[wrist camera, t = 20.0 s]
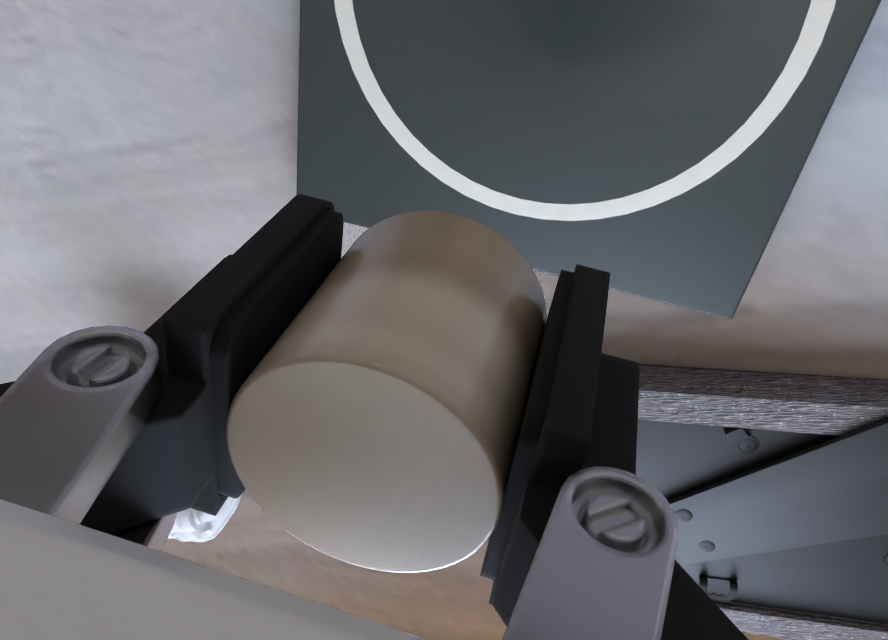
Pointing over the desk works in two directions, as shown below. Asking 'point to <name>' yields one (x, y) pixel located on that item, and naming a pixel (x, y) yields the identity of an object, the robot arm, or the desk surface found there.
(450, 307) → the beige cylinder
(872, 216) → the desk surface
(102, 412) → the robot arm
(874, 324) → the desk surface
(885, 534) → the picture frame
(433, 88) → the slate board
